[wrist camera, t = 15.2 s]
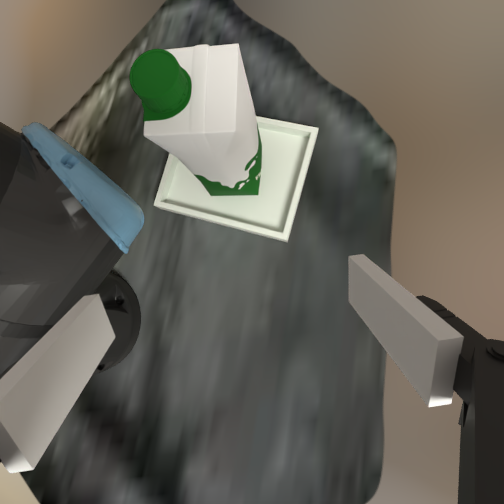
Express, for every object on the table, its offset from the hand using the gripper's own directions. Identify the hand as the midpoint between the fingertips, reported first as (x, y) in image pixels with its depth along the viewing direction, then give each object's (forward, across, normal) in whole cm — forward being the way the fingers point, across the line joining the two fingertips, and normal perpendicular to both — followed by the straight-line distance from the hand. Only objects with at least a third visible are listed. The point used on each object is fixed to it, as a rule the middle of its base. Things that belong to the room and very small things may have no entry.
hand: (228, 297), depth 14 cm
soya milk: (+29, +1, +4) cm, 29 cm away
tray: (+29, +1, +4) cm, 30 cm away
